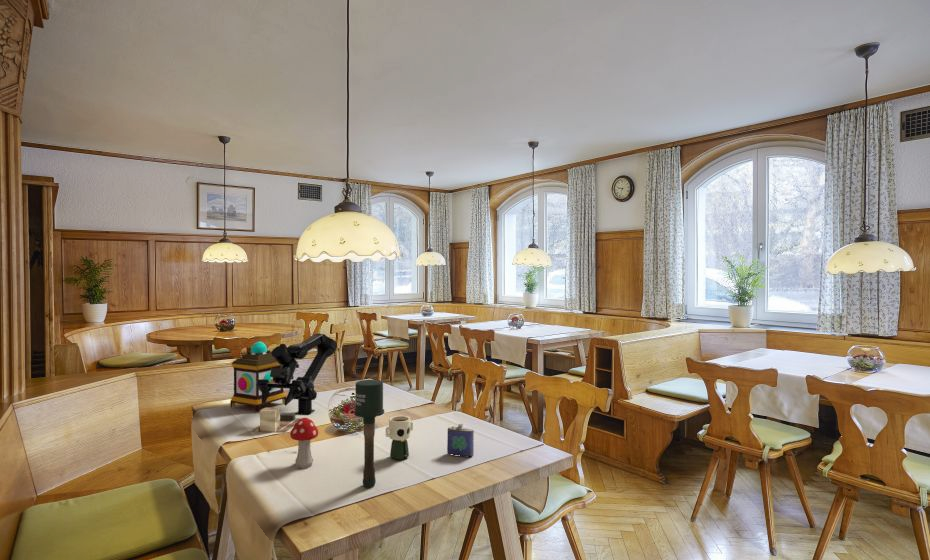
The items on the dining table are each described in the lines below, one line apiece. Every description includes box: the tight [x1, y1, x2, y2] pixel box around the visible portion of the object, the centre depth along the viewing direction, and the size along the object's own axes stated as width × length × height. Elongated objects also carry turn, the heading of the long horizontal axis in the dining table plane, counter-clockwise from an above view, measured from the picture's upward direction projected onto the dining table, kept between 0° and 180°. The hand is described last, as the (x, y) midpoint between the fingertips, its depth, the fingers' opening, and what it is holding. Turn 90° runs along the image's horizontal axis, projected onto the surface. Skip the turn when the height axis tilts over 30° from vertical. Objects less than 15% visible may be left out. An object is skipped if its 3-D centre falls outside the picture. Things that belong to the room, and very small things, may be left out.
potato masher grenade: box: [353, 379, 385, 489], centre depth 138 cm, size 8×9×30 cm
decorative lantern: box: [230, 341, 287, 413], centre depth 222 cm, size 20×20×30 cm
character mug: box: [385, 415, 414, 460], centre depth 160 cm, size 11×7×13 cm, turn 133°
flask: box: [446, 423, 475, 457], centre depth 162 cm, size 9×3×11 cm, turn 74°
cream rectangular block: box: [259, 407, 281, 433], centre depth 184 cm, size 4×7×8 cm, turn 85°
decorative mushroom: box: [289, 417, 319, 469], centre depth 153 cm, size 10×9×15 cm
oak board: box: [248, 413, 302, 434], centre depth 191 cm, size 18×14×3 cm
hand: (273, 404), depth 187 cm, fingers open, 9 cm apart
